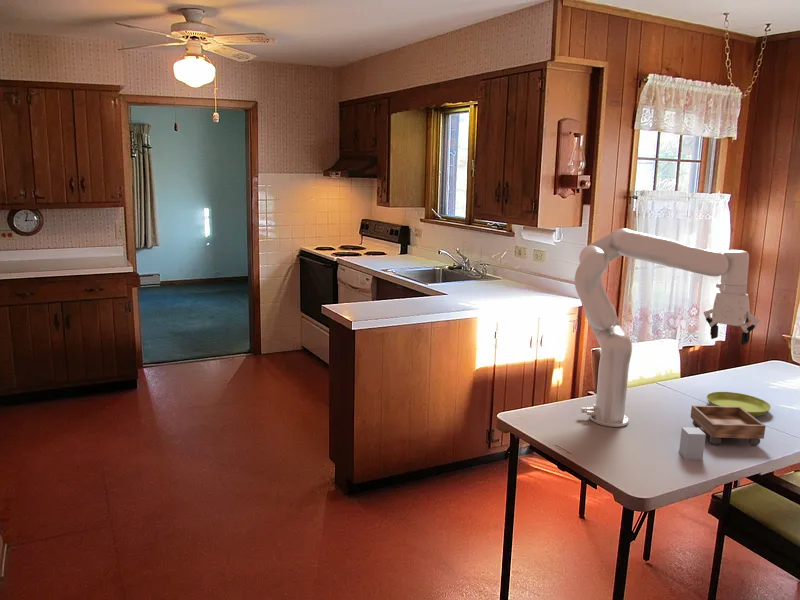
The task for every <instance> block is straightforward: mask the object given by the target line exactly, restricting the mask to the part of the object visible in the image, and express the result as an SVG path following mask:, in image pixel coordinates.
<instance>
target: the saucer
mask: <svg viewBox="0 0 800 600" xmlns="http://www.w3.org/2000/svg"><path fill="white" fill-rule="evenodd" d="M706 399H707V401H708V403H709V404H710V406H729V407H741V408H743V409H744V410H745V411H747V412H748V413H749V414H750V415H752V416H753V417H754V418H757V417H761V416H763V415H765V414H767V413H768V412H769V411H770V410H771V408H772V406H771V404H770V403H769V402H768V401H766V400H764V399H761V398H759V397H756V396H753V395H749V394H745V393H740V392H731V391H714V392H710V393H708V394H707V395H706Z"/></svg>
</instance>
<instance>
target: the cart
mask: <svg viewBox="0 0 800 600" xmlns="http://www.w3.org/2000/svg"><path fill="white" fill-rule="evenodd" d="M690 418H691V420H692V425H693V426H694V428H699V429H701V430H702V431H703V432H706V434H708V435H709V436H710V437H709V442H710V443H711V444H713V445H715V446H717V445H719V444H721V442H722V438H724V439H725V438H728V439H730V438H732V439H748V441H747V442H748V443H749V444H750V445H751V446H753V447H756V446H758V445H760V443H761V440H762V439H763V440H764V439H765V432H766V425H765V424H764V423H762V422H761V421H760V420H758V419H757V417H753V416H752V415H750V414H749V413H748V412H747V411H745V410H744V409H743V408H741V407H729V406H712V405H691V410H690Z"/></svg>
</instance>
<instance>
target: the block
mask: <svg viewBox="0 0 800 600" xmlns="http://www.w3.org/2000/svg"><path fill="white" fill-rule="evenodd" d="M706 436H707V433H705V431H704V430H703V429H701V428H696V427H690V426H689V427H686V426H682V427H681V431H680V439H679V440H680V441H679V442H680V443H679V449H678V453H680V455H682V457H683V458H684V459H685V460H701V461H702V460H703V458H704V452H705V444H706V443H705V442H706Z"/></svg>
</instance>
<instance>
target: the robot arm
mask: <svg viewBox="0 0 800 600" xmlns="http://www.w3.org/2000/svg"><path fill="white" fill-rule="evenodd" d="M622 256H623V257H626V258H630V259H634V260H639V261H644V262H647V263H652V264H656V265H661V266H665V267H668V268H674V269H679V270H683V271H686V272H691V273H694V274H695V273H696V274H699V275H704V276H708V277H714V278H715V277H720V282H719V283H716V284H715V288H718V289H719V291H717V292H716V294H715V299H714V302H713V306H712V309H709V310H706V311H704V312H703V315H704V318H705V321H706V322H707V323H708V324H709V325H708V326H709V327H710V339H711V340H714V339H717V338H718V337H719V325H718V324H722V325H728V326H734V327H740V328H741V329H742V331H743V332H741V341H740V344H741V345H744V346H746V345H747V344H748V343H749V341H750V337H751V332H752V331H753V330H754V329H756V328H757V326H758V325H759V324H760V322H761V319H759V318H758V317H756V316H755V315H753V314H752V313H751V309H750V306H751V305H750V298H749V297H750V296H749V294H748V293H747V288H748V276H749V264H750V263H749V262H750V254H749V252H748V251H746V250H742V249H728V250H722V249H721V250H720V249H712V248H711V249H710V248H706V249H703V248H699V247H693V246H689V245H687V244H684V243H681V242H679V241H676V240H674V239H670V238H666V237H661V236H656V235H652V234H648V233H643V232H638V231H634V230H631V229H629V228H625V227H624V228H619V229H616V230H614V231H612V232H610V233H609V234H607V235H604V236H603V237H602V238H600V239H599V238H598V239H597V240H596V241H594V242H592V243H589V244H588V245H586V246H584V248H582V250H581V251H580V253H579V256H578V257H579V258H578V259H579V264H578V267H577V269H576V270H575V274H574V286H575V287H574V288H575V290H576V293H577V295H578V298H579V300H580V303H581V304H582V307H583V309H584V315H585V318H586V319H587V322H588V324H589V326H590V328H591V331H592V333H593V334H594V337H595V338H596V340H597V343H598V345H599V346H600V357H599V364H598V370H597V371H598V372H597V373H598V374H597V385H596V386H597V387H596V397H595V403H593V404H592V406H590V407H585V406H584V407H583V406H581V407H580V413H581V414H583V413H584V414H586V415H587V416H589V418H590V420H591V421H592V422H594V423H595V424H597V425H600V426H604V427H611V428H620V427H625V426H626V425H628V424H629V423H630V422H629V421H630V419H629V417H628V416H627V415H625V410H626V400H627V390H628V379H629V371H630V370H629V369H630V362H631V357H632V353H633V344H632V339H630V337H629V335H628V334H627V333H626V332H625V330H624V327H623V326H622V324H621V322H620V319H619V318H618V316H617V315H618V314H617V311H616V308H615V306H614V305H613V303H612V302H611V300H610V298H609V296H608V293H607V291H606V289H605V287H604V284H603V281H602V280H603V275H604V274H605V272H606V271H607V269H608V267H609V264H610V262H612V261H614V260H615V259H617V258H619V257H622ZM750 321H752V323H751V325H750V324H749V322H750Z"/></svg>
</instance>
